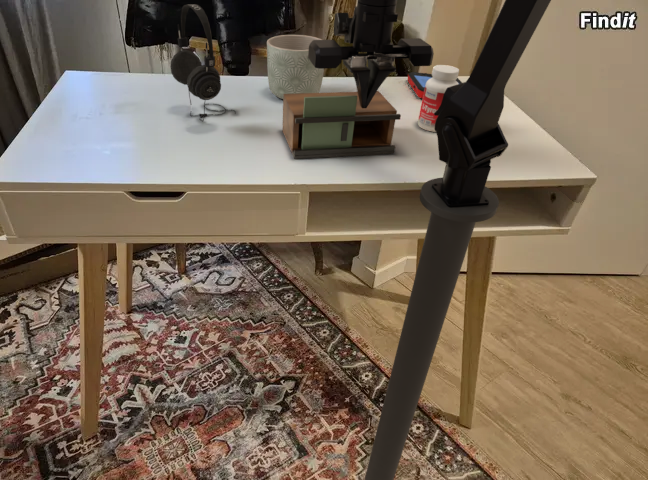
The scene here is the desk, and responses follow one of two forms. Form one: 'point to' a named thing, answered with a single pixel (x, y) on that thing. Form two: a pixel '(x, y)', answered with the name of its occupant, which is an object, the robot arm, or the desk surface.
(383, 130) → the cabinet
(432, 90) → the pill bottle
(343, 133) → the sliding door
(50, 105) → the desk surface
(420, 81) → the game console
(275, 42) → the planter
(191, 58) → the headphones
